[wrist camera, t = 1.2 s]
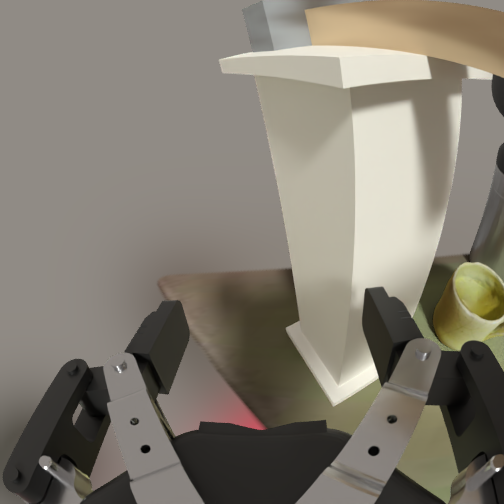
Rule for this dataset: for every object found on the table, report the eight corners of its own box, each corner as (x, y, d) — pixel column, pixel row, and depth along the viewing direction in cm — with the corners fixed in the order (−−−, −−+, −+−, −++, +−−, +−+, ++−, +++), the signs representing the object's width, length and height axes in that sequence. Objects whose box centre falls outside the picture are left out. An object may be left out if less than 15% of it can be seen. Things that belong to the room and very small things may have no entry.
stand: (360, 292, 38) (358, 40, 17) (412, 352, 30) (492, 63, 8) (286, 332, 36) (218, 59, 15) (333, 406, 28) (339, 57, 6)
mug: (409, 327, 30) (455, 270, 24) (436, 294, 36) (472, 244, 29) (468, 389, 24) (524, 343, 17) (486, 345, 29) (529, 301, 23)
